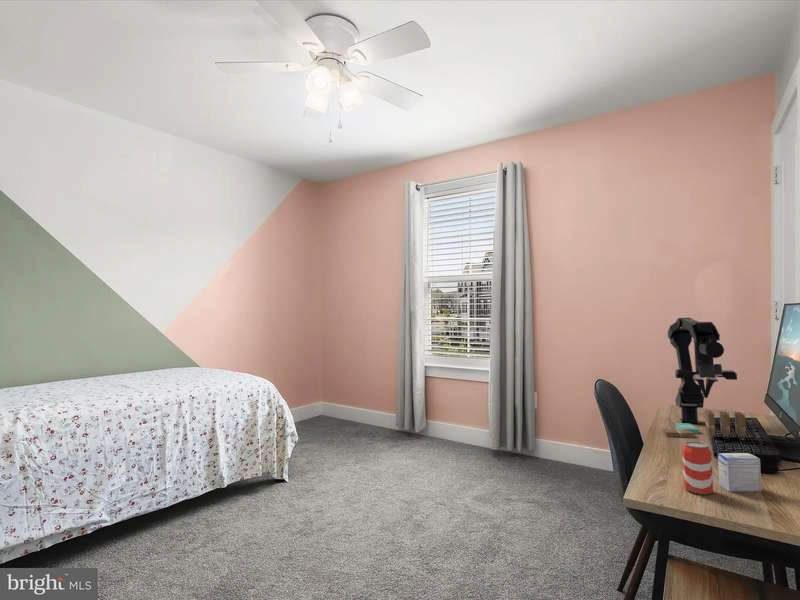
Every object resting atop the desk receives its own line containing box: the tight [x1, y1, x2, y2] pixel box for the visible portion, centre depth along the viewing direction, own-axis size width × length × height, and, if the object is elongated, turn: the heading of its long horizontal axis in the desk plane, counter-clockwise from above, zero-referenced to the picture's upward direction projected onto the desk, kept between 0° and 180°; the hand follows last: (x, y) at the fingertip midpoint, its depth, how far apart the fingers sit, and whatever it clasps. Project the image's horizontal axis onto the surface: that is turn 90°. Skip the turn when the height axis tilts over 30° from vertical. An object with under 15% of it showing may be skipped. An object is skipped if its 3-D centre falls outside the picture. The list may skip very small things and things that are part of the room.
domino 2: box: [704, 410, 716, 440], centre depth 166 cm, size 2×5×9 cm, turn 156°
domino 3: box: [719, 410, 731, 436], centre depth 164 cm, size 2×5×9 cm, turn 156°
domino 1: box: [661, 428, 695, 439], centre depth 169 cm, size 2×5×9 cm
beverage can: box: [681, 440, 714, 495], centre depth 119 cm, size 6×6×12 cm
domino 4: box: [734, 411, 747, 437], centre depth 162 cm, size 2×5×9 cm, turn 156°
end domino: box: [675, 422, 700, 435], centre depth 176 cm, size 2×5×9 cm
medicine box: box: [717, 452, 762, 492], centre depth 119 cm, size 8×4×9 cm, turn 84°
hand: (706, 397), depth 171 cm, fingers closed
